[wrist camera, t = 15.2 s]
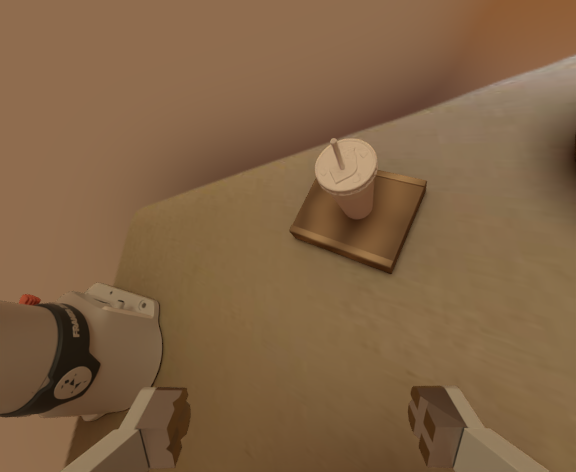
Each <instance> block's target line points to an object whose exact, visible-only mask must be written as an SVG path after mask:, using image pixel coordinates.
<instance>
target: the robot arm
mask: <svg viewBox="0 0 576 472" xmlns="http://www.w3.org/2000/svg"><path fill="white" fill-rule="evenodd" d="M39 302H40V299H39V298H38V297H35V296H33V295H27V294H25V295H23V296H22V297H21V299H20V302H19V303H13V302H6V301H0V417H26V416H30V415H31V414H39V416H40V417H42V418H55V417H71V416H82V418H83V420H84V421H94V420H97V419H98V418H100V417H101V416H103V415H104V414H106V413H110V412H120V411H123V410H126V409H128V408H130V407H131V408H130V410H129V411H128V413H127V415H126V417H125V418H124V420H123V422H122V424H121V425H120V427H119V429H117V430H113V431H111V432H110V433H109V434H108V435H106V436H105V437H104V438H102V439H101V440H100V441H99V442H97V443H96V444H95V445H93V446H92V447H91V448H90V449H88V450H87V451H86V452H84V453H83V454H82V455H81V456H79V457H78V458H77V459H75V460H74V461H73V462H72V463H70V464H69V465H68V466H67V467H65V468H64V469H63V470H61V471H60V472H148V471H149V469H153V468H175V466H176V463H177V461H178V458H179V455H180V452H181V449H182V444H181V439H182V438H183V437H184V436H185V435H186V434H187V431H188V428H189V423H190V417H191V409H190V404H189V403H188V402H187V401H186V400H187V397H188V392H187V388H177V387H151V385H152V383H153V381H154V379H155V377H156V375H157V372H158V369H159V366H160V361H161V356H162V337H161V332H160V328H159V324H158V316H159V303H158V302H157V301H156V300H154V299H151V298H148V297H144V296H141V295H138V294H135V293H132V292H129V291H126V290H123V289H119V288H116V287H113V286H110V285H107V284H103V283H96V284H94V285H93V286H91V287H90V288H89V289H88V290H87V291H86V292H85V293H80V292H74V291H71V292H68V293H66V294H64V295H63V296H61V297H60V298H59V299H58V300H57V301H56V302H55V303H47V304H39ZM145 305H146V307H145ZM411 397H412V399H413V400H412V401H411V402H410V403H409V406H408V417H409V422H410V426H411V429H412V431H413V434H415V435H416V436H417V437H418V438H419V439H420V442H419V449H420V451H421V453H422V456H423V458H424V461H425V463H426V466H427V467H443V468H453V470H454V471H455V472H550V471H549V470H547V469H546V468H544V467H543V466H542V465H540V464H539V463H538V462H536V461H535V460H533V459H532V458H531V457H529V456H528V455H526V454H525V453H524V452H522V451H521V450H519V449H518V448H517V447H515V446H514V445H512V444H511V443H510V442H508V441H507V440H506V439H504V438H503V437H501V436H500V435H499V434H497V433H496V432H494V431H493V430H492V429H490V428H485V427H484V425H483V424H482V422H481V421H480V419H479V418H478V416H477V415H476V413H475V412H474V410H473V409H472V407H471V406H470V404H469V403H468V401H467V399H466V398H465V396H464V395H463V393H462V392H461V390H460V389H459V388H458V387H457V386H413V387H412V389H411Z"/></svg>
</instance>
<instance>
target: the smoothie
mask: <svg viewBox="0 0 576 472" xmlns="http://www.w3.org/2000/svg"><path fill="white" fill-rule="evenodd" d="M330 142H331V145H329V146H328V147H327V148H325V149H324V150H323V151H322V153H321V154H320V155H319V157H318V159H317V161H316V164H315V174H316V177H317V180H318V183H319V184H320V186H321V187H322V188H323V189H324V190H325V191H326V192H328V193H330V194H331V196H332V197H333V198H334V200H335V201H336V202H337V203H338V205H339V206H340V207H341V209H342V210H343V211H344V212H345V214H346V215H347V216H348V217H350V218H352V219H362V218H365V217H366V216H368V215H369V214H370V212H371V211H372V207H373V192H374V178H375V176H376V174H377V170H378V160H377V157H376V153H375V151H374V149H373V148H372V147H371V146H370V145H369V144H368V143H366V142H364V141H362V140H359V139H343V140H339V141H337V140H336V139H335V138H333V139H331V141H330Z"/></svg>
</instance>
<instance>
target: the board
mask: <svg viewBox="0 0 576 472" xmlns="http://www.w3.org/2000/svg"><path fill="white" fill-rule="evenodd" d="M426 183H427V181H426V180H421V179H417V178H412V177H407V176H403V175H398V174H394V173H389V172H385V171H380V170H377V174H376V176H375V178H374V192H373V207H372V211H371V212H370V214H369V215H368V216H366V217H365V218H362V219H352V218H350V217H348V216H347V215H346V214H345V212H344V211H343V210H342V209H341V207H340V206H339V205H338V203H337V202H336V201H335V200H334V198H333V197H332V196H331V194H330V193H328V192H326V191H325V190H324V189H323V188H322V187H321V186H320V184H319V183H318V180H317V177H316V179H315V181H314V183H313V185H312V187H311V189H310V191H309V193H308V195H307V197H306V199H305V201H304V203H303V205H302V207H301V209H300V211H299V213H298V215H297V217H296V219H295V221H294V223H293V225H291V227H290V229H289V230H290V233H291V234H292V235H293V236H294V237H295V238H297V239H300V240H302V241H305V242H308V243H310V244H313V245H316V246H318V247H321V248H324V249H326V250H329V251H332V252H334V253H337V254H340V255H342V256H345V257H348V258H350V259H353V260H356V261H358V262H361V263H363V264H366V265H369V266H371V267H374V268H377V269H379V270H382V271H385V272H387V273H390V274H392V271H393V269H394V266H395V264H396V262H397V259H398V257H399V254H400V252H401V249H402V247H403V245H404V242H405V240H406V237H407V235H408V232H409V230H410V228H411V225H412V223H413V220H414V218H415V216H416V213H417V211H418V208H419V206H420V203H421V201H422V199H423V196H424V194H425V191H426Z"/></svg>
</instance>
